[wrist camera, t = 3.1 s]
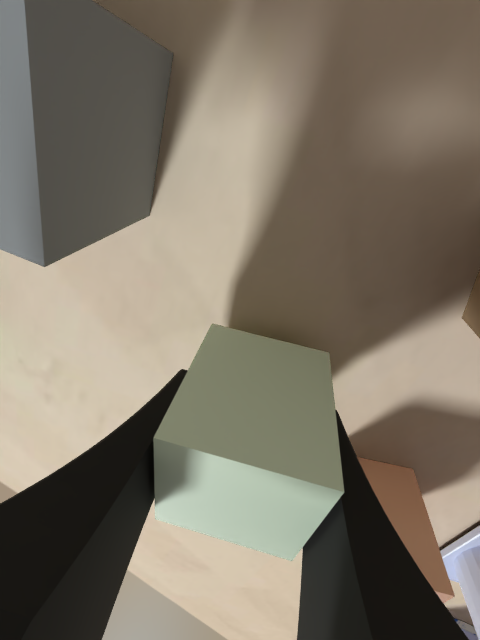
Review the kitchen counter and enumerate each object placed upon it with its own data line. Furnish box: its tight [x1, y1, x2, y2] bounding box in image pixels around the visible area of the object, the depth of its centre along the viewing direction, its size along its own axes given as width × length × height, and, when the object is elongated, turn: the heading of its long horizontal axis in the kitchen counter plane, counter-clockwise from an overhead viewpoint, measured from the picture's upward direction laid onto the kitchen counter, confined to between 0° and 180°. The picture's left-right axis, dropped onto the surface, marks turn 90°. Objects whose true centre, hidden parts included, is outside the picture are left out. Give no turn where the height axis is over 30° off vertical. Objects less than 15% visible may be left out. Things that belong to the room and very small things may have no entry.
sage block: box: [153, 324, 344, 561], centre depth 10 cm, size 4×4×5 cm
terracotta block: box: [357, 457, 455, 603], centre depth 14 cm, size 4×4×5 cm
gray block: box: [0, 0, 173, 267], centre depth 7 cm, size 4×4×5 cm
